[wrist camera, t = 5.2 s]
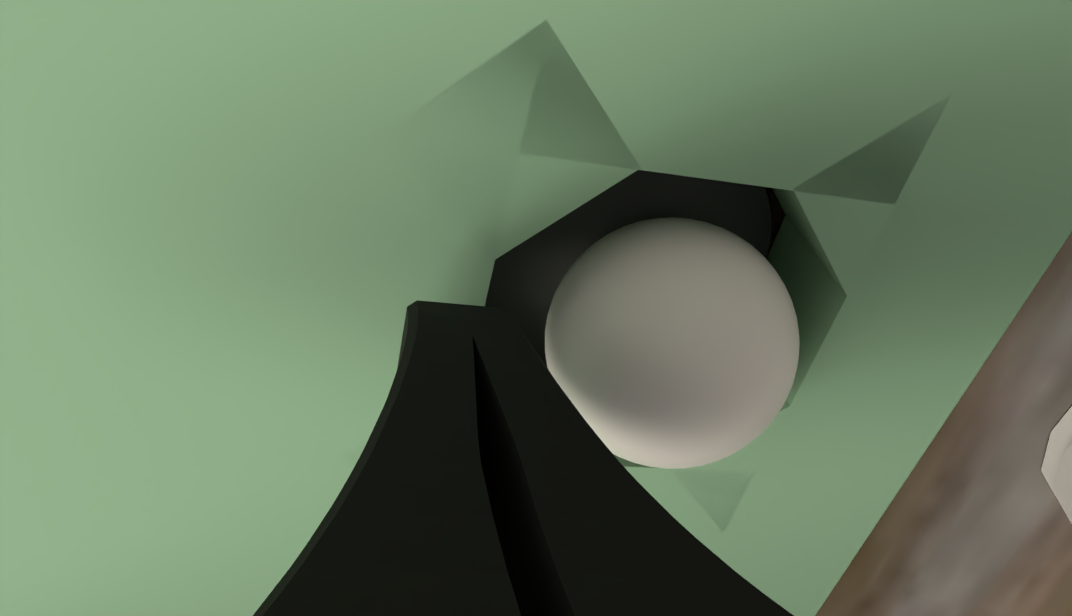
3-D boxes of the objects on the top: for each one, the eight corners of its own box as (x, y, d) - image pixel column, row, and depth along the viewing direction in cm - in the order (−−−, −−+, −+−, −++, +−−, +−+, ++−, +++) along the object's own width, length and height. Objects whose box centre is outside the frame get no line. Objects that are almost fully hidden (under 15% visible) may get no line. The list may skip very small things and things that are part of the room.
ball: (560, 334, 17) (767, 368, 16) (517, 495, 14) (770, 543, 13) (575, 155, 14) (820, 188, 14) (526, 304, 11) (840, 353, 11)
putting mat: (760, 547, 21) (800, 638, 19) (-445, 522, 15) (-569, 650, 13) (1167, -172, 12) (1322, -143, 10) (-1397, -915, 6) (-2234, -1194, 4)
